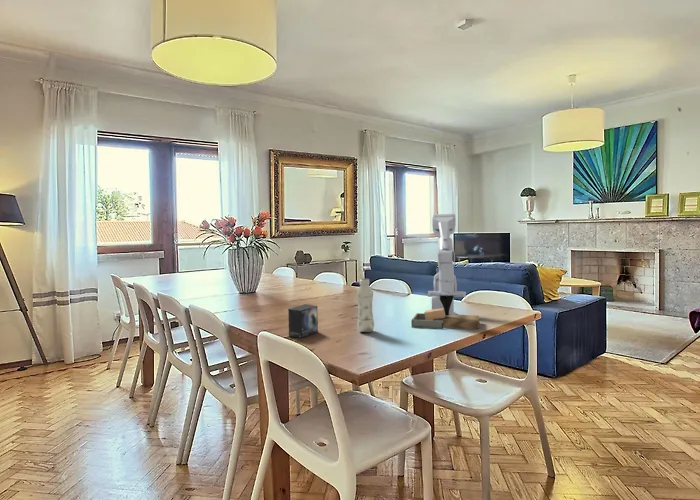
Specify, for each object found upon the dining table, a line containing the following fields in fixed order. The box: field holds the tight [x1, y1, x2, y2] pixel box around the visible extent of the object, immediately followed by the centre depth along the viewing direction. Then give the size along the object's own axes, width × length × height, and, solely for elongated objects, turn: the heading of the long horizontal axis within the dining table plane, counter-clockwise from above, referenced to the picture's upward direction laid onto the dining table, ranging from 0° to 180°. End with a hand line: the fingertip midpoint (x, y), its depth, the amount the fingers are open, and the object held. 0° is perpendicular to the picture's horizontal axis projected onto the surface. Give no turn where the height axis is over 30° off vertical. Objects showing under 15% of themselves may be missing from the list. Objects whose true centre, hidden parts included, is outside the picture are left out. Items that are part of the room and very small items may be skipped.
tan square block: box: [424, 309, 435, 321], centre depth 174 cm, size 4×4×3 cm
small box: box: [287, 303, 319, 339], centre depth 164 cm, size 11×6×10 cm, turn 148°
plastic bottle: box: [356, 278, 375, 333], centre depth 164 cm, size 6×7×20 cm
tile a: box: [431, 308, 446, 319], centre depth 173 cm, size 4×4×3 cm
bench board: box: [442, 314, 480, 330], centre depth 170 cm, size 13×10×3 cm
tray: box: [411, 312, 444, 329], centre depth 174 cm, size 12×13×3 cm
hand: (447, 314), depth 172 cm, fingers closed
